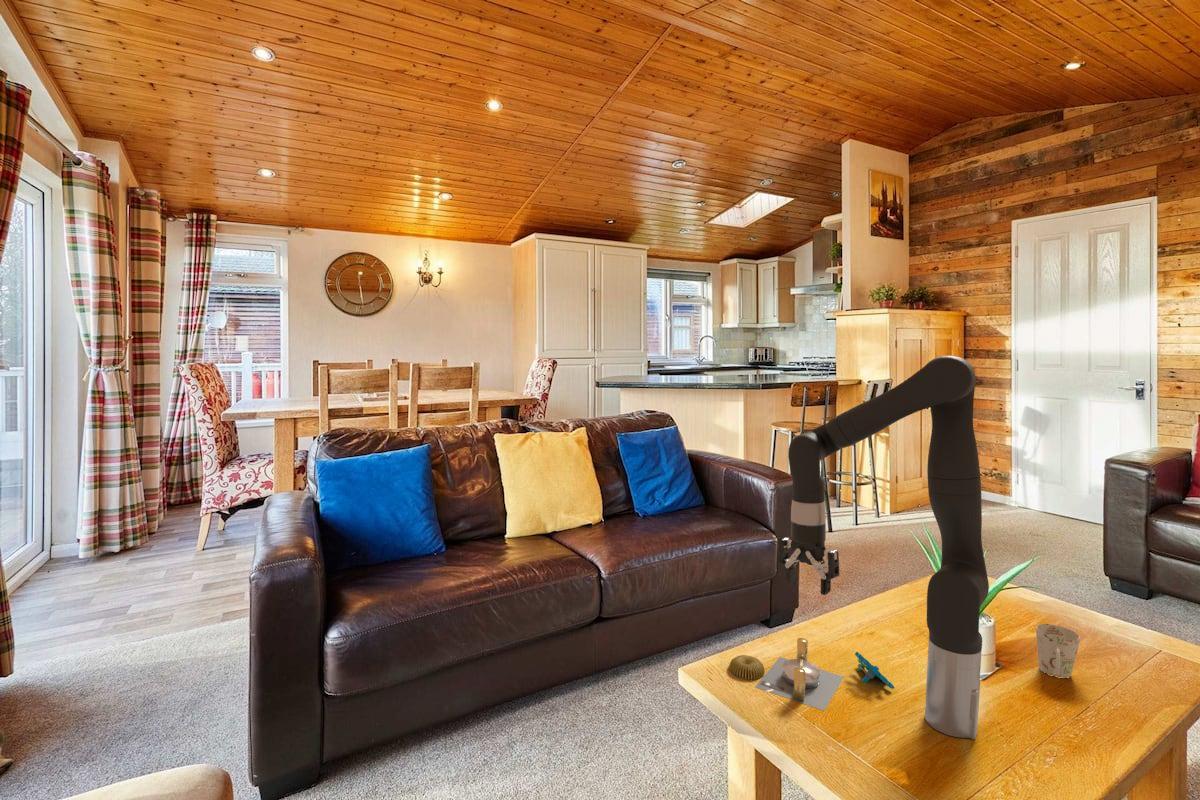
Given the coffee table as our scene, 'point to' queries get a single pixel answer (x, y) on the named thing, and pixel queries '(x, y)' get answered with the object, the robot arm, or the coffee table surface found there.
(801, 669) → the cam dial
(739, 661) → the sculpture
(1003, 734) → the coffee table surface
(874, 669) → the gear
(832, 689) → the board
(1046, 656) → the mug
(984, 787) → the coffee table surface
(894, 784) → the coffee table surface
